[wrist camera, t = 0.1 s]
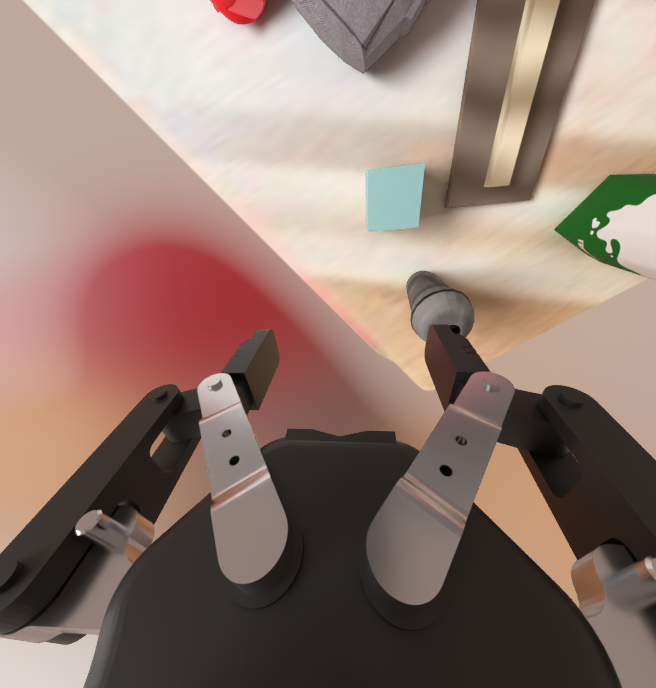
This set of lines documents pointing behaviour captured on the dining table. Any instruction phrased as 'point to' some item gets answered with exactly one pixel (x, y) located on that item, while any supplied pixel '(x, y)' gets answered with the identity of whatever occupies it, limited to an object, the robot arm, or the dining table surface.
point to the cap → (240, 9)
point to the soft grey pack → (360, 26)
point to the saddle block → (394, 197)
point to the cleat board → (491, 95)
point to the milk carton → (617, 224)
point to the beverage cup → (437, 305)
